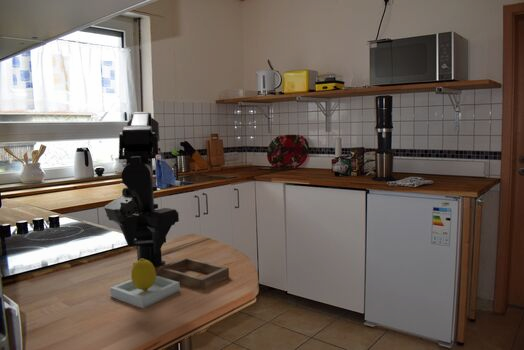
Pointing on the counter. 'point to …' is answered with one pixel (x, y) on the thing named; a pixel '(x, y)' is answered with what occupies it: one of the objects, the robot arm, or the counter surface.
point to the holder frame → (172, 273)
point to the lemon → (143, 274)
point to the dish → (145, 292)
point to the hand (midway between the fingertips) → (143, 249)
